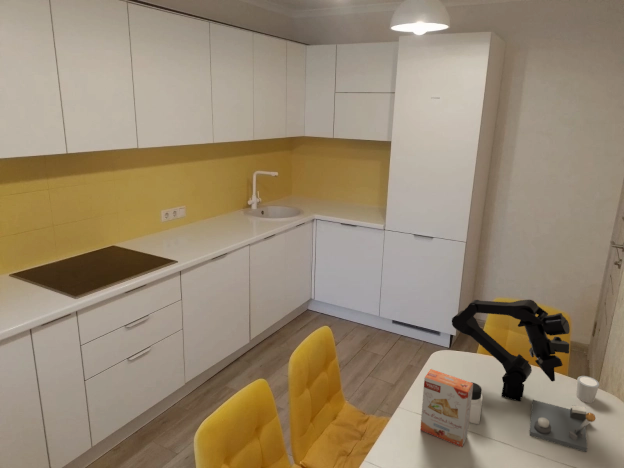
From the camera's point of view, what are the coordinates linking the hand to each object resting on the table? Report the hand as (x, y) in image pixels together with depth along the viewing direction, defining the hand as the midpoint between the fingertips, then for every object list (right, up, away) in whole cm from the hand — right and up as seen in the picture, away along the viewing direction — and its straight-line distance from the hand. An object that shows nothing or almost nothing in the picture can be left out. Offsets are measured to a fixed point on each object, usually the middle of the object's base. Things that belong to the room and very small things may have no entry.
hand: (553, 380), depth 154 cm
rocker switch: (+8, -10, -2) cm, 12 cm away
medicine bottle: (-28, -13, +2) cm, 31 cm away
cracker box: (-39, -16, -6) cm, 43 cm away
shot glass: (+17, -10, +11) cm, 22 cm away
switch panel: (0, -14, -3) cm, 14 cm away
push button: (-7, -12, -7) cm, 16 cm away
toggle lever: (+2, -14, -10) cm, 17 cm away
